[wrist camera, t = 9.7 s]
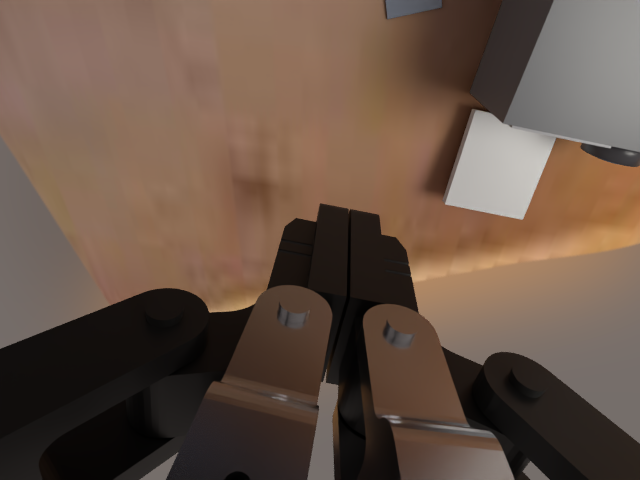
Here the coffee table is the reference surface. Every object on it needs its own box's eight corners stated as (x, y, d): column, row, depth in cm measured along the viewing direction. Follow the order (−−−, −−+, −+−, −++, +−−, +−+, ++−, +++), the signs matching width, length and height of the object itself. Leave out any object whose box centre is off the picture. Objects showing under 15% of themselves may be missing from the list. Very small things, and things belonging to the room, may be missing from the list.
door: (475, 110, 34) (444, 204, 37) (560, 127, 34) (522, 219, 37) (470, 108, 35) (441, 199, 38) (552, 125, 35) (516, 214, 38)
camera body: (522, -55, 29) (590, -71, 21) (687, -18, 30) (819, -19, 21) (462, 112, 35) (496, 152, 27) (600, 141, 36) (676, 189, 27)
